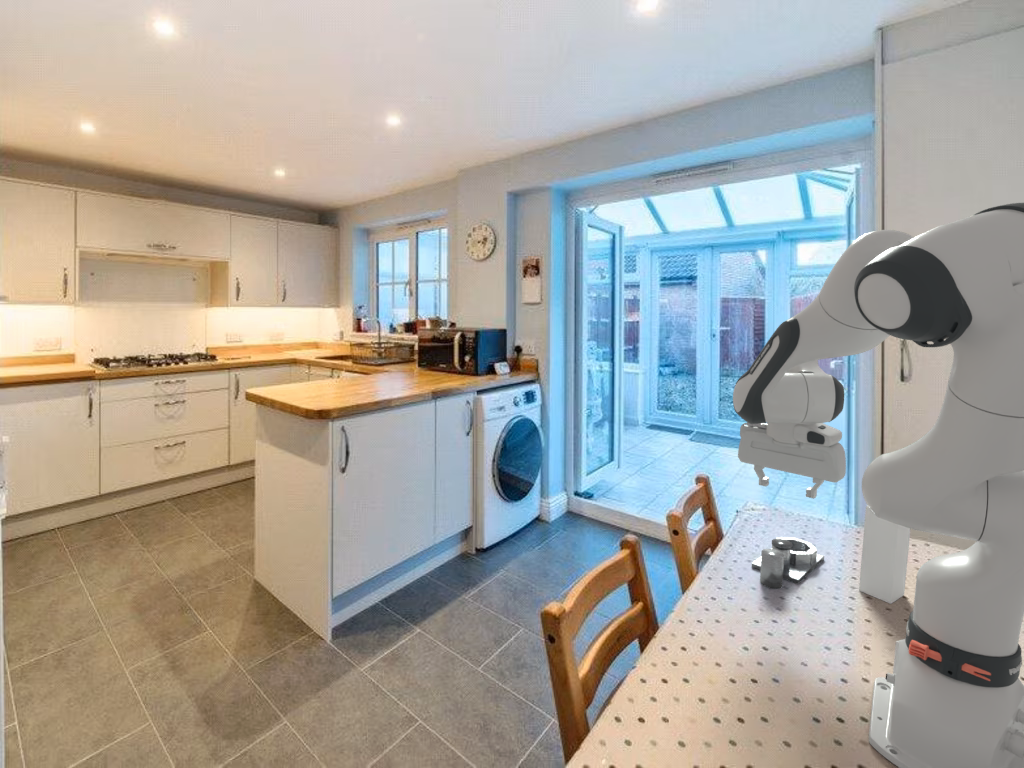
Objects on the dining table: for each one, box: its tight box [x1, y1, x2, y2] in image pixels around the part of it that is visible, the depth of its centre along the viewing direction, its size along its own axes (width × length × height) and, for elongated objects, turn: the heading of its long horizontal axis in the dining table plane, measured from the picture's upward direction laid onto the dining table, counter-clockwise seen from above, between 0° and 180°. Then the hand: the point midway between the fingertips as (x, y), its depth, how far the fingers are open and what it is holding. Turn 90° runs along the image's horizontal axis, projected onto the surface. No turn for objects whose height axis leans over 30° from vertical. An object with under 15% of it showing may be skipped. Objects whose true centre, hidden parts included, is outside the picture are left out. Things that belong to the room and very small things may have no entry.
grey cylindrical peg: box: [759, 548, 784, 590], centre depth 109 cm, size 4×4×7 cm
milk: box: [858, 505, 912, 605], centre depth 103 cm, size 6×6×22 cm
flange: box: [751, 536, 825, 585], centre depth 117 cm, size 16×10×7 cm, turn 130°
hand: (786, 491), depth 106 cm, fingers open, 8 cm apart
